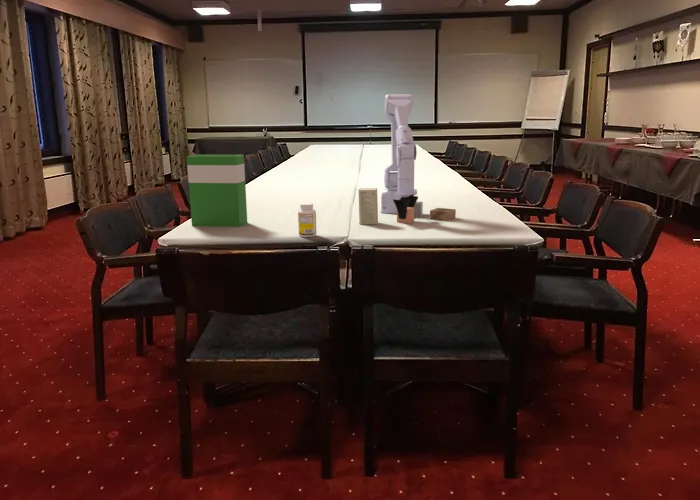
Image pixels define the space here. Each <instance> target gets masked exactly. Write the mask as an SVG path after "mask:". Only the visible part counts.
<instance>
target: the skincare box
mask: <svg viewBox="0 0 700 500" xmlns="http://www.w3.org/2000/svg"><path fill="white" fill-rule="evenodd" d="M378 210H379V209H378V187H371V188H369V187H368V188H367V187H366V188H365V187H363V188H362V187H361V188H359V189H358V212H359V213H358V215H359V216H358V217H359V220H358V221H359V225H377V224H378V223H379V221H378V220H379V216H378V215H379V211H378Z"/></svg>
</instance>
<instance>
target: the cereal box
mask: <svg viewBox="0 0 700 500" xmlns="http://www.w3.org/2000/svg"><path fill="white" fill-rule="evenodd" d="M186 167H187V168H186V169H187V178H188V179H187V180H188V190H189V191H188V192H189V205H190V218H191V226H192V227H223V228H224V227H225V228H226V227H230V228H232V227H234V228H240V227H242V226H245V225H246V224H248V210H247V209H248V207H247V193H246V192H247V191H246V188H247V187H246V172H245V171H246V170H245V155H244V154H195V155H188V156H186Z"/></svg>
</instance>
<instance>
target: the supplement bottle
mask: <svg viewBox="0 0 700 500" xmlns="http://www.w3.org/2000/svg"><path fill="white" fill-rule="evenodd" d="M316 213H317V210H316V209H314V203H312V202H302V203H301V202H300V209H299V210H298V212H297V215H298V216H297V217H298V220H297V221H298V235H299V237H300V238H301V237H302V238H313V237H315V236H316V235H317V214H316Z"/></svg>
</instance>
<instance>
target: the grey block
mask: <svg viewBox="0 0 700 500" xmlns="http://www.w3.org/2000/svg"><path fill="white" fill-rule="evenodd" d="M423 205H424V202H423V201H416V203H415V206H414V218H415V217H417V218H421V217H422V216H423V210H424V206H423Z"/></svg>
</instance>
